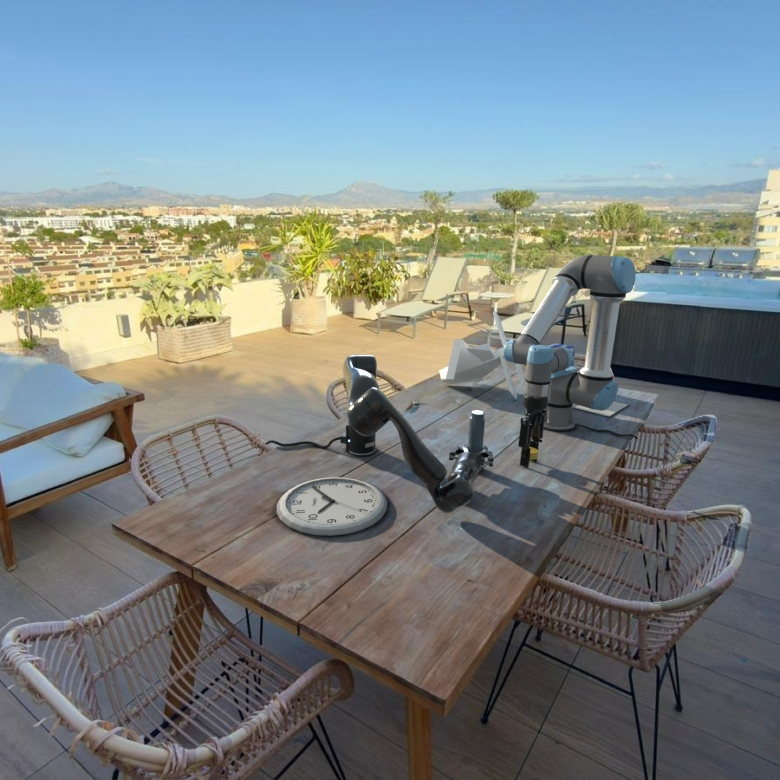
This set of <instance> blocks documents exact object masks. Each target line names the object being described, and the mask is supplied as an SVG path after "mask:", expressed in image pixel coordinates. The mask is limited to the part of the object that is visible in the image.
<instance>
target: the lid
mask: <svg viewBox="0 0 780 780" xmlns="http://www.w3.org/2000/svg"><path fill="white" fill-rule="evenodd" d="M529 448H531V450H530V459H529V461H532V460H534V459H537V460H538V458H539V449H538V450H537V449H535V448H532V447H529Z"/></svg>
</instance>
